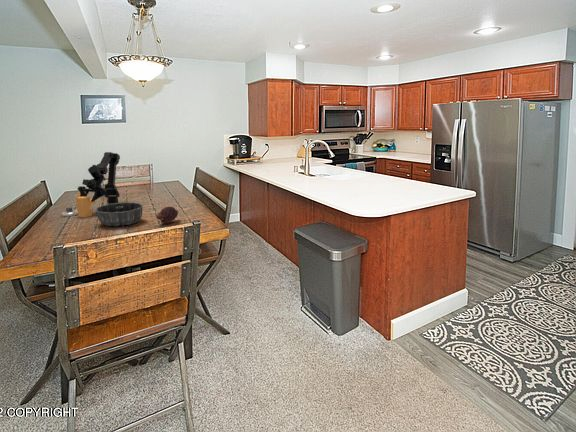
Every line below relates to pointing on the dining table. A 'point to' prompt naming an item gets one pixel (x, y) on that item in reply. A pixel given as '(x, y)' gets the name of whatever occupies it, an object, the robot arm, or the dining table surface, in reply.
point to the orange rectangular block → (83, 206)
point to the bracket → (86, 196)
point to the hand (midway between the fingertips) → (86, 201)
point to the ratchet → (70, 212)
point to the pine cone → (167, 215)
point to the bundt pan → (119, 213)
